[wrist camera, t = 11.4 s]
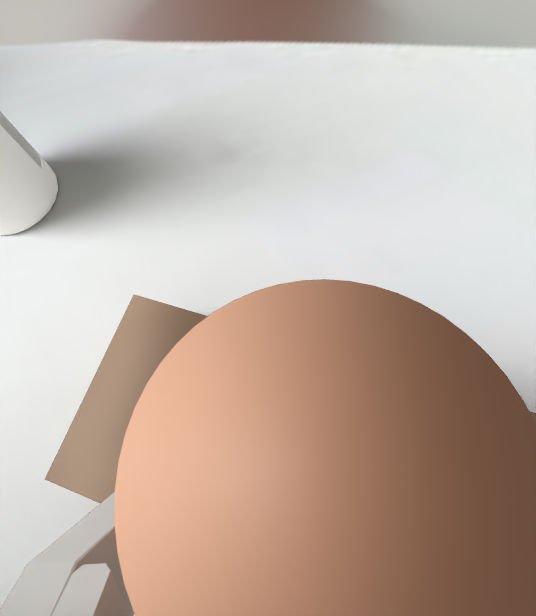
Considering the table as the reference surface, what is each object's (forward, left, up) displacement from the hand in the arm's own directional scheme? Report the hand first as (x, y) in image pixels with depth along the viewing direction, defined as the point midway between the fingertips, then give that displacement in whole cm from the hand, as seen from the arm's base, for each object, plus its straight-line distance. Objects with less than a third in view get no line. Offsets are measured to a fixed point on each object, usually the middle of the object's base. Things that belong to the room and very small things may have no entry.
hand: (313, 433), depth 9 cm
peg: (0, -1, -6) cm, 6 cm away
